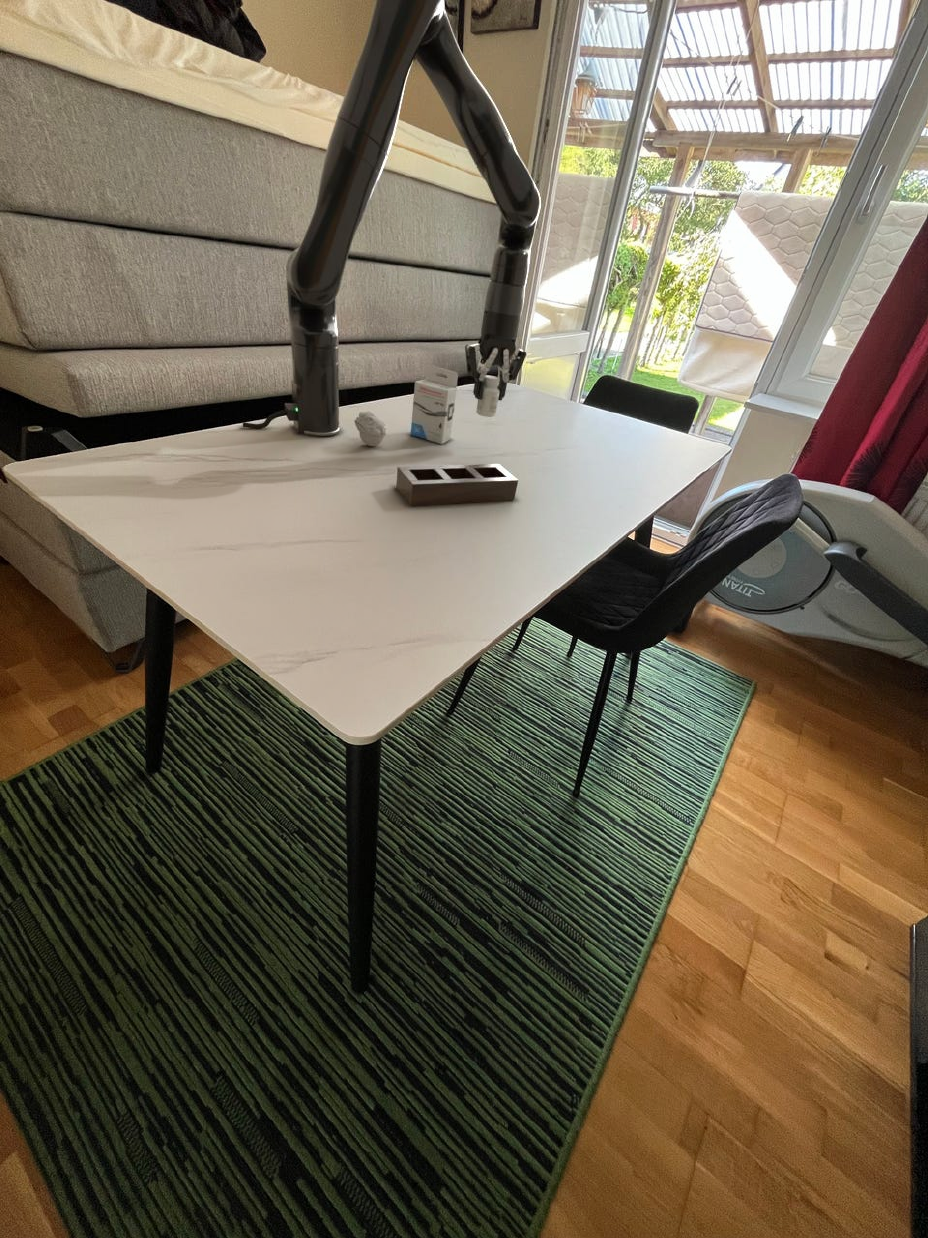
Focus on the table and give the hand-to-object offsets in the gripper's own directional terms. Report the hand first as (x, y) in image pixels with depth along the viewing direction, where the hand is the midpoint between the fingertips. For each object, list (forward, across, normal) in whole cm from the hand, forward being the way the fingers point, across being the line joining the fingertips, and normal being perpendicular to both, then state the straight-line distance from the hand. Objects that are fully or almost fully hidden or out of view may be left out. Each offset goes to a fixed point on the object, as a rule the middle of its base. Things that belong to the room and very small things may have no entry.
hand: (488, 398), depth 113 cm
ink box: (+11, +10, -7) cm, 16 cm away
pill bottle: (+4, 0, 0) cm, 4 cm away
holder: (+11, +16, +24) cm, 31 cm away
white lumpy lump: (+12, +26, -2) cm, 28 cm away
